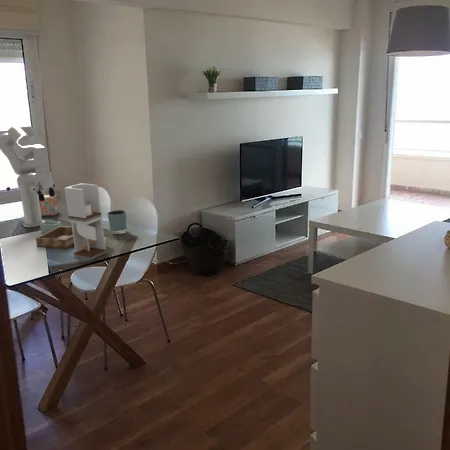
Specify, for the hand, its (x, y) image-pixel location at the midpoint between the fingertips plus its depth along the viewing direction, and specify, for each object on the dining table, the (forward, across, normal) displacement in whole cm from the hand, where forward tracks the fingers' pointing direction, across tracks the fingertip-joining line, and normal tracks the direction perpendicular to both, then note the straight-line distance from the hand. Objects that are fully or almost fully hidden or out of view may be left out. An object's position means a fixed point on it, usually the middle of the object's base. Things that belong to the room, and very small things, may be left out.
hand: (47, 198), depth 290 cm
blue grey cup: (+21, -6, +39) cm, 45 cm away
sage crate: (+20, 0, 0) cm, 20 cm away
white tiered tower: (+21, +30, +42) cm, 56 cm away
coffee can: (+20, -54, -47) cm, 75 cm away
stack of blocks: (+20, -36, -32) cm, 53 cm away
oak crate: (+20, +13, +16) cm, 29 cm away
